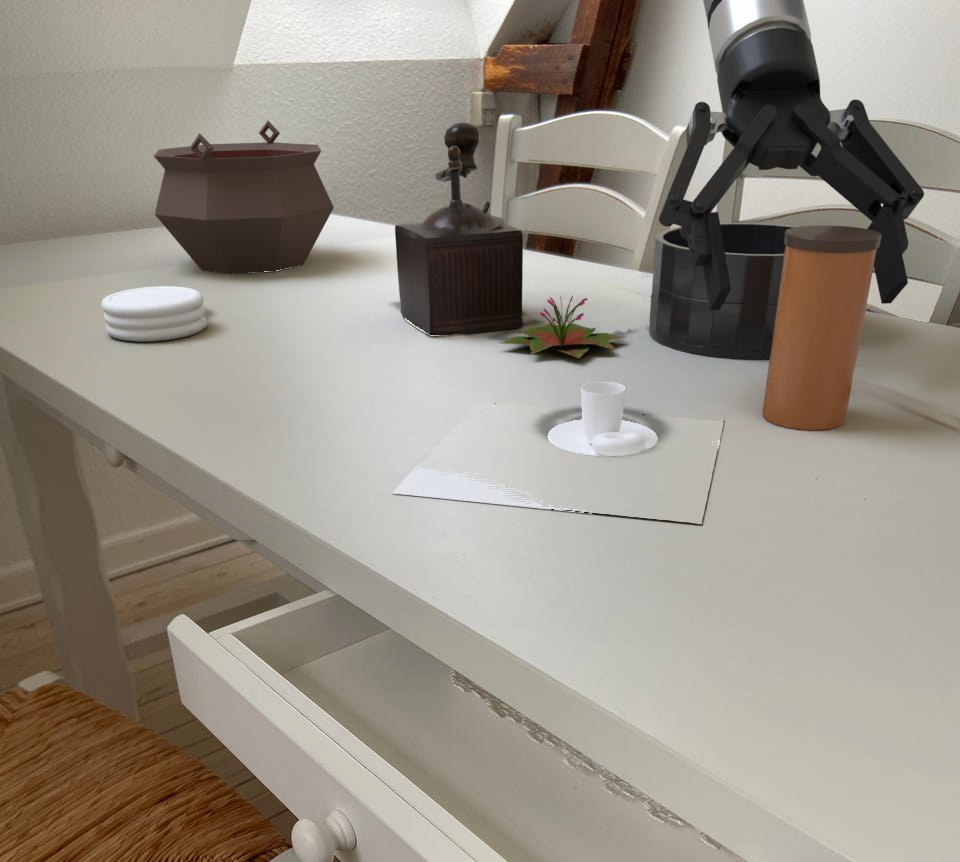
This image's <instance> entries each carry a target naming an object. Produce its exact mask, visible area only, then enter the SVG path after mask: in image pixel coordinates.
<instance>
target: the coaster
mask: <svg viewBox="0 0 960 862" xmlns="http://www.w3.org/2000/svg"><path fill="white" fill-rule="evenodd" d="M204 301H205V300H204V296H203V294H202V293H201V292H200V291H198V289H195V288H190V287H184V286H174V285H173V286H169V285H167V286H166V285H164V286H163V285H162V286H147V287H146V286H145V287H136V288H130V289H125V290H121V291H117V292H114V293H112V294H108V295H106V296H105V297H104V298H103V299H102V301H101V305H100V307H101V309H102V311H103V320H104V321H105V330H106V332H107V334H108V335H109V336H110V337H112V338H113V339H116V340H118V341H119V340H120V341H125V342H140V343H143V342H146V343H147V342H148V343H149V342H163V341H164V342H165V341H170V340H171V341H172V340H176V339H177V340H178V339H182V338H186V337H190V336H193V335H195V334H198V333H200V332H202V331H203V330H204V329H205V328H206V327H207V324H208V323H207V322H208V319H207V318H206V316H205V314H206V308H205V305H203V304H204Z"/></svg>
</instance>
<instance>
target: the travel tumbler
mask: <svg viewBox="0 0 960 862" xmlns="http://www.w3.org/2000/svg"><path fill="white" fill-rule="evenodd" d="M880 241H881V234H880V233H879V232H876V231H873V230H869V229H867V228H863V227H857V226H845V225H828V224H827V225H824V224H823V225H822V224H821V225H801V226H800V227H795V228H790V229H788V230H786V232H785V237H784V244H785V245H786V246H785V253H784V260H783V267H782V275H781V282H780V289H779V296H778V304H777V311H776V318H775V325H774V332H773V340H772V347H771V354H770V359H769V361H768V369H767V377H766V384H765V385H766V386H765V390H764V392H765V393H764V399H763V406H762V417H763V418H764V419H765V420H766V421H768V422H769V423H771V424H773V425H776V426H779V427H782V428H787V429H793V430H802V431H825V430H831V429H832V430H833V429H836V428H838V427H841V426H842V425H844V424H845V422H846V418H847V413H848V409H849V403H850V397H851V393H852V387H853V380H854V375H855V371H856V364H857V359H858V353H859V348H860V343H861V338H862V332H863V326H864V320H865V315H866V310H867V305H868V300H869V299H868V298H869V293H870V288H871V283H872V278H873V277H872V276H873V272H874V261H875V256H876V250H877V249H878V248H879V247H880Z"/></svg>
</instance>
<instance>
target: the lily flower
mask: <svg viewBox="0 0 960 862" xmlns="http://www.w3.org/2000/svg"><path fill="white" fill-rule="evenodd" d="M573 297H574V295H572V296H571V297H570V299H569V302H568V305H567V308H566V311H565V313H564V317H563V316H562V313H560V312H561V311H560V309H563V303H562V296H561V295H559V299H560V304H561V305H560V306H561V308H560V307H559V305H558V306H557V304H556V301H555V300H554V299H553V298H552V296H549V299H546V302H547V303H548V304H549V305H550V306H551V307H552V308H553V311H554V314H555V317H556V318H555V317H552V316H551V314H550V313H549V311H548V310H547V309H546V308H543V312H540V313H539V315H540V316H541V317H543V318H544V319H546V320H547V321H548V322H549V323H548V324H545V325H541V326H531V327H527V328H524V329H521V330H518V331H514V332H511V333H512V334H523V335H526V336H523V335H521V336H519V335H518V336H512V337H510V338H507V339H506V340H504V341H500V344H504V345H505V344H506V345H507V344H509V345H523V346H529V349H530V354H529V356H532V355H534V354H536V353H539V352H541V351H543V350H546V349H549V348H550V349H551V350H553V351H556V352H561V353H564V354H567V355H568V356H569V355H570V356H573V357H575V358H577V359H580V358H581V357H582V356H583V355H584V354H585V353H587V352H588V351H589V350H590V347H589V346H587V345H594V346H598V347H600V348H601V347H602V348H605V349H609V350H613V351H616V352H617V351H618V349H616V348H615V347H614V345H613V344H611V342H610V341H612V340H619V339H623V338H624V339H626V338H627V336H621V335H616V334H612V333H608V332H595V331H596V329H597V327H592V328H590V327H586V326H582V325H579V324H576V323H574V322H576V321H579V320H582V317H583V316H584V312H582V313H580V314H577V315H576V317H575V318H573V319H572V317H573V315H574V313H575V311H576V310H577V309H578V307H582V306H583V305H585V302H586V301H588V297H585V298H583V299H581V301H579V303H577V304H576V305H575V306H574V307H573V308H572V309H571V311H569V309H570V306H571V305H570V304H571V303H572V301H573ZM547 315H548V317H549V318H548V317H547ZM555 322H556V323H557V324H556V323H555Z"/></svg>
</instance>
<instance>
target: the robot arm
mask: <svg viewBox="0 0 960 862" xmlns="http://www.w3.org/2000/svg"><path fill="white" fill-rule="evenodd" d="M702 2H703V7H704V12H705V16H706V21H707V29H708V30H707V31H708V35H709V41H710V42H709V43H710V47H711V54H712V59H713V64H714V69H715V73H716V76H717V77H716V82H717V87H718V94H719V100H720V106H721V111H711V107H710V105H709V104H708V102H705V101H698V102H697V103H696V104H695V105H694V108H693V110H692V113H691V116H690V118H689V121H688V123H687V126H686V129H685V132H686V133H685V134H686V135H685V136H686V137H685V138H686V148H685V151H684V153H683V156H682V157H681V161H680V164H679V165H678V168H677V170H676V173H675V176H674V178H673V181H672V183H671V186H670V188H669V191H668V193H667V196H666V198H665V201H664V204H663V206H662V209H661V212H660V214H659V216H658V221H659V223H660V224H661V226H663V227H667V228H668V227H671V226H673V225H676V226H678V227H682V228H681V230H680V234H681V236H682V237H683V238H684V239H687V241H688V247H689V253H690V260H691V262H692V264H693V265H694V266H703V270H704V276H705V282H706V288H707V294H708V300H709V306H710V310H720V309H721V307H722V305H723V303H724V301H725V299H726V298H727V296H728V294H729V292H730V290H731V285H730V279H729V273H728V267H727V262H726V256H725V250H724V244H723V238H722V232H721V226H720V223H721V222H720V221H721V220H720V215H719V212H718V211H713V210H714V209H715V208H716V206H717V205H718V204H719V202H720V201H721V200H722V199H723V197H724V196H725V194H726V193H727V192H728V190H729V189H730V188H731V186H733V184H734V183H735V181H736V180H737V179H739V178H740V176H741V175H742V174H743V172H745V170H746V168H747V167H748V166H749V164H751V165H753V166H755V167H758V171H768V170H773V169H776V168H779V169H784V170H797V169H799V167H800V169H802V170H803V171H804V172H806V173H807V175H809V176H810V177H819V178H820V179H821V180H823V181H824V182H825V183H826V184H827V185H829V186H830V187H831V188H832V189H833V190H834V191H836V193H838V194H839V195H840V196H842V197H843V198H844V199H845V200H846V201H847V202H848V203H849V204H851V205H852V206H853V207H855V208H856V209H857V210H858V211H859V212H860V213H861V214H862V215H864V216H865V217H866V218H867V219H869V220H870V221H871V223H870V224H869V225H868V227H867V228H866V229H869V230H873V231H876V232H879V233H880V234H881V241H880V247H879V248H878V249H877V250H876V256H875V261H874V267H873V271H874V273H875V278H876V284H877V287H878V294H879V298H880V303H881V304H884V305H885V304H892V303H893V301H895V299H896V298H897V297H898V296H899V294H900V293H901V292H902V291H903V290H904V289H905V287H906V286H907V285H908V284H909V280H908V275H907V271H906V266H905V262H904V257H903V255H904V253H905V252H906V250H907V249H908V246H909V239H908V238H909V237H908V234H907V233H908V232H907V229H906V225H905V220H907V219H908V218H909V217H910V215H911V214H912V213H913V211H915V209H916V207H917V206H918V205H919V203H920V202H921V201H922V200H923V198H924V196H925V192H924V190H923V188H922V187H921V185H920V184H919V183H918V182H917V180H916V179H915V178H914V177H913V175H911V173H910V171H908V169H907V167H906V166H905V165H904V164H903V163H902V162H901V160H900V159H899V157H898V156H897V155H896V154H895V152H894V151H893V150H892V149H891V147H890V146H889V145H888V144H887V142H886V141H885V140H884V139H883V137H882V136H881V135H880V133H879V132H878V131H877V130H876V129H875V127H874V126H873V125H872V123H871V122H870V118H869V116H868V112H867V110H866V108H865V105H864V103H863V102H862V101H861V100H859V99H852V100H850V101H849V103H848V105H847V106H846V108H842V109H834V110H829V108H828V107H827V106H826V104H824V102H823V101H822V97H821V80H820V79H821V78H820V74H819V69H818V64H817V59H816V54H815V50H814V45H813V43H812V33H811V28H810V24H809V23H810V22H809V19H808V15H807V11H806V7H805V6H806V5H805V2H804V0H702ZM718 133H720V134H721V135H722V137H723V138H724V139H725V140H726V141H727V142H728V143H729V144H730V145H731V146H732V147H733V148H732V150H731V151H730V152H729V154H728V155H726V158H725V159H724V160H723V162H722V163H721V164H720V165H719V166H718V168H717V169H716V170H715V172H714V173H713V175H712V176H711V177H710V178H709V180H708V181H707V182H706V184H705V185H704V186H703V188H702V189H701V190H700V191H699V193H698V194H697V196H695V198H694V199H693V201H691V200H687V199H684V198H685V197H686V194H687V191H688V189H689V186H690V184H691V181H692V178H693V176H694V174H695V171H696V169H697V166H698V163H699V161H700V158H701V156H702V154H703V152H704V151H703V150H704V148H705V146H707V145H708V144H709V143H711V142H712V141H714V139H715V137H716V135H717V134H718ZM818 144H819V146H820V150H819V152H818V154H817V156H816V155H814V154H813V152H814V150H815V148H816V147H817V145H818Z"/></svg>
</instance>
